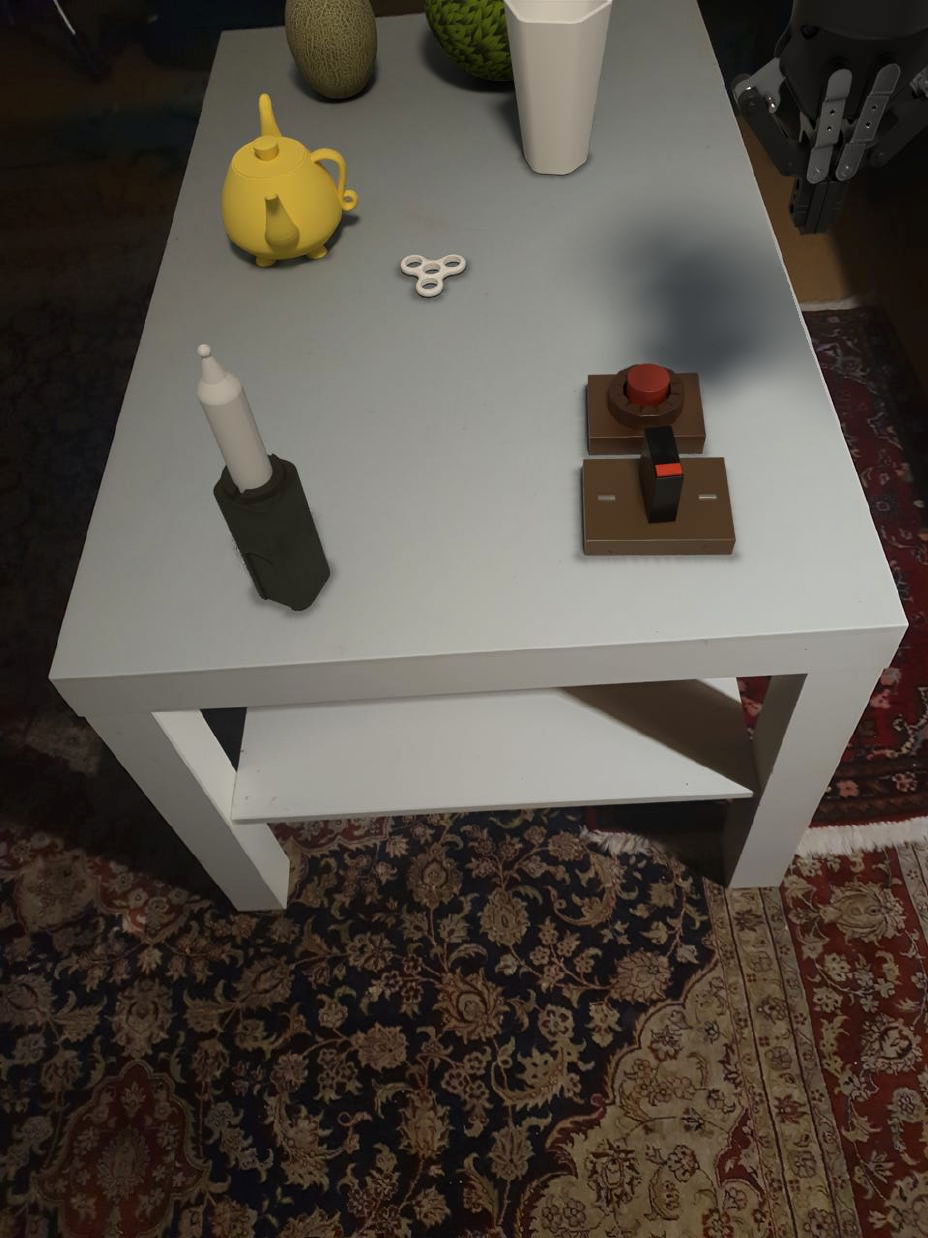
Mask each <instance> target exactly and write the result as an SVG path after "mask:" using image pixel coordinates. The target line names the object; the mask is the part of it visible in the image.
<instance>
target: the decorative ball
mask: <svg viewBox="0 0 928 1238" xmlns="http://www.w3.org/2000/svg"><path fill="white" fill-rule="evenodd" d="M422 5H423V11H424V14H425V18H426V21H427V24H428V26H429V29H430V32H431V33H432V36H433V38H434V39H435V41H436V43H437V44H438V46H439V47H440V49H441V50H442V51H443V53H444V54H445V55H446V56H447V58H449V59H450V60H451V62H453V63H454V64H455V65H457V67H459V68H461V69H462V70H464V72H466V73H469V74H471V75H473V76H475V77H477V78H480V79H484V80H486V81H487V80H488V81H494V82H508V81H514V75H513V68H512V60H511V53H510V45H509V38H508V30H507V23H506V16H505V8H504V1H503V0H422Z"/></svg>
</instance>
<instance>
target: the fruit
mask: <svg viewBox="0 0 928 1238" xmlns="http://www.w3.org/2000/svg"><path fill="white" fill-rule="evenodd" d="M284 29H285V36H286V43H287V45H288V49H289V53H290V54H291V57H292V58H293V61H294V64H295V66H296V67H297V69H298V71H299V72H300V74H301V75H302V77H303V78H304V80H305V81H306V82H307V83H308V85H310V86H311V87H312V88H313V89H314V90H315V91H316V92H318V93H319V94H321V95H323V96H324V97H327V98H330V99H347V98H349V97H352V96H355V95H356V94H358V93H360V92H361V91H362V90H363V89H364V88H365V86H366V85H367V84H368V82H369V80H370V78H371V76H372V73H373V71H374V68H375V64H376V59H377V53H378V31H377V21H376V16H375V13H374V10H373V7H372V4H371V1H370V0H286V1H285V6H284Z"/></svg>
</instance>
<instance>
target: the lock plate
mask: <svg viewBox="0 0 928 1238" xmlns="http://www.w3.org/2000/svg"><path fill="white" fill-rule="evenodd" d="M679 458H680V462H681V466H682V470H683V474H684V480H683V485H682V490H681V495H680V501H679V506H678V511H677V516H676V521H674V522H662V523H651V524H650V523H649V521H648V516H647V511H646V507H645V502H644V497H643V493H642V488H641V483H640V478H639V467H640V459H641V457H638V458H637V457H634V458H633V457H632V458H584V459H582V470H581V471H582V473H581V475H582V477H581V478H582V510H583V511H582V512H583V514H582V515H583V545H584V549H583V551H584V556H698V555H700V556H704V555H705V556H709V555H711V556H713V555H715V556H717V555H719V556H721V555H722V556H724V555H726V556H727V555H731V556H732V554H733V551H734V548H735V544H736V540H737V538H736V531H735V523H734V517H733V510H732V503H731V496H730V489H729V483H728V474H727V469H726V467H727V466H726V462H725V461H726V460H725V457H724V456H711V457H710V456H709V457H707V456H706V457H679Z"/></svg>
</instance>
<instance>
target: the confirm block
mask: <svg viewBox="0 0 928 1238" xmlns="http://www.w3.org/2000/svg"><path fill="white" fill-rule="evenodd" d="M640 364H641V363H635V364H633V365H630V366H627V367H625V368H623V369H621V370H619V371H618V372H617V373H608V374H607V373H605V374H587V383H586V384H587V385H586V404H587V405H586V406H587V430H588V431H587V433H588V455H589V456H605V455H606V456H608V455H609V456H610V455H613V456H615V455H616V456H617V455H618V456H619V455H641V451H642V444H643V436H644V429H645V428H649V427H660V426H672V429H673V433H674V437H675V441H676V445H677V449H678V454H679V455H680V454H681V455H684V454H685V455H686V454H703V452H704V449H705V448H704V447H705V443H706V438H707V433H706V432H707V431H706V425H705V417H704V410H703V402H702V394H701V393H702V392H701V385H700V380H699V379H700V378H699V372H697V371H696V372H675V371H674V370H673V369H670V368H668V367H665V366H663V365H660V366H661V367H663V368H664V369H665V370H666V371H667V372H668V374H669V377H670V379H669V386H668V393H667V397H666V398H665V400H664V401H663V402H661V403H660V404H658V405H655V406H640V405H638V404H635V403H633V402H632V401H630V400H629V398H628V397H627V394H626V387H627V377H628V373H629V371H630V370H631V369H632V368H633V367H635V366H637V365H640ZM655 364H656V363H655ZM656 365H658V364H656Z"/></svg>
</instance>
